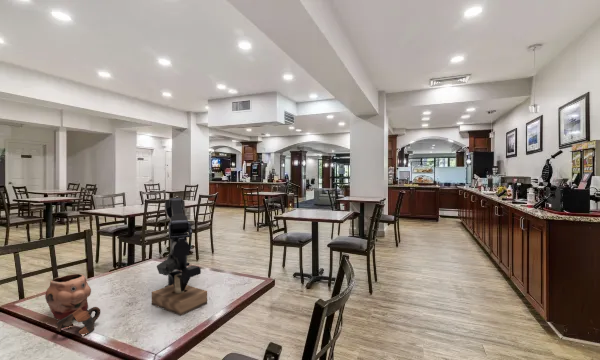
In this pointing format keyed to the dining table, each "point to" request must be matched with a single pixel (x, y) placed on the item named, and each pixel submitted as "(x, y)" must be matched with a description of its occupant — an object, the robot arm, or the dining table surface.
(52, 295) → the decorative planter
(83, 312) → the pottery mug
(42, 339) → the dining table surface
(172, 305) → the walnut socket block
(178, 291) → the maple dowel
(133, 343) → the dining table surface
